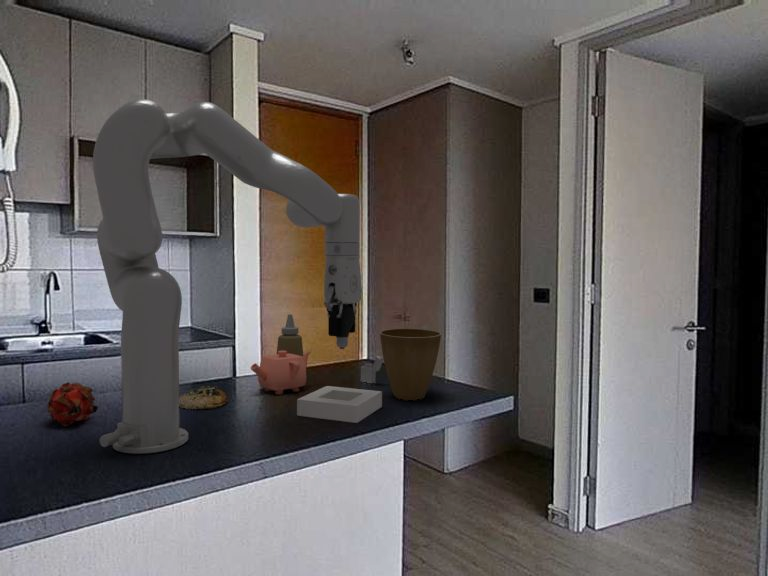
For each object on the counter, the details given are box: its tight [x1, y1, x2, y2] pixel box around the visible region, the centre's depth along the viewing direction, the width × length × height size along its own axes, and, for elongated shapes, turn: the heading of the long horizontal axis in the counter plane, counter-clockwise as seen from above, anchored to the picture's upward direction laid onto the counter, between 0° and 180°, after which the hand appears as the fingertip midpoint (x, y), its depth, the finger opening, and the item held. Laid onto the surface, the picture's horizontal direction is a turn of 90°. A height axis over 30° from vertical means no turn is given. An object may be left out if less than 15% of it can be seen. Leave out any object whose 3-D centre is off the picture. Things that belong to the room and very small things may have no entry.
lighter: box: [360, 354, 384, 384], centre depth 152 cm, size 7×2×8 cm, turn 48°
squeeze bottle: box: [276, 314, 304, 357], centre depth 156 cm, size 8×8×18 cm
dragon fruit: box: [46, 382, 99, 427], centre depth 114 cm, size 8×8×12 cm
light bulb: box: [335, 304, 356, 350], centre depth 124 cm, size 6×6×10 cm
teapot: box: [250, 350, 313, 395], centre depth 143 cm, size 14×12×10 cm
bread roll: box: [179, 385, 229, 411], centre depth 129 cm, size 11×11×5 cm
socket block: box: [296, 385, 383, 424], centre depth 124 cm, size 14×14×4 cm
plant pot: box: [379, 327, 442, 401], centre depth 137 cm, size 15×15×16 cm
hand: (342, 333), depth 124 cm, fingers closed on light bulb, 5 cm apart
